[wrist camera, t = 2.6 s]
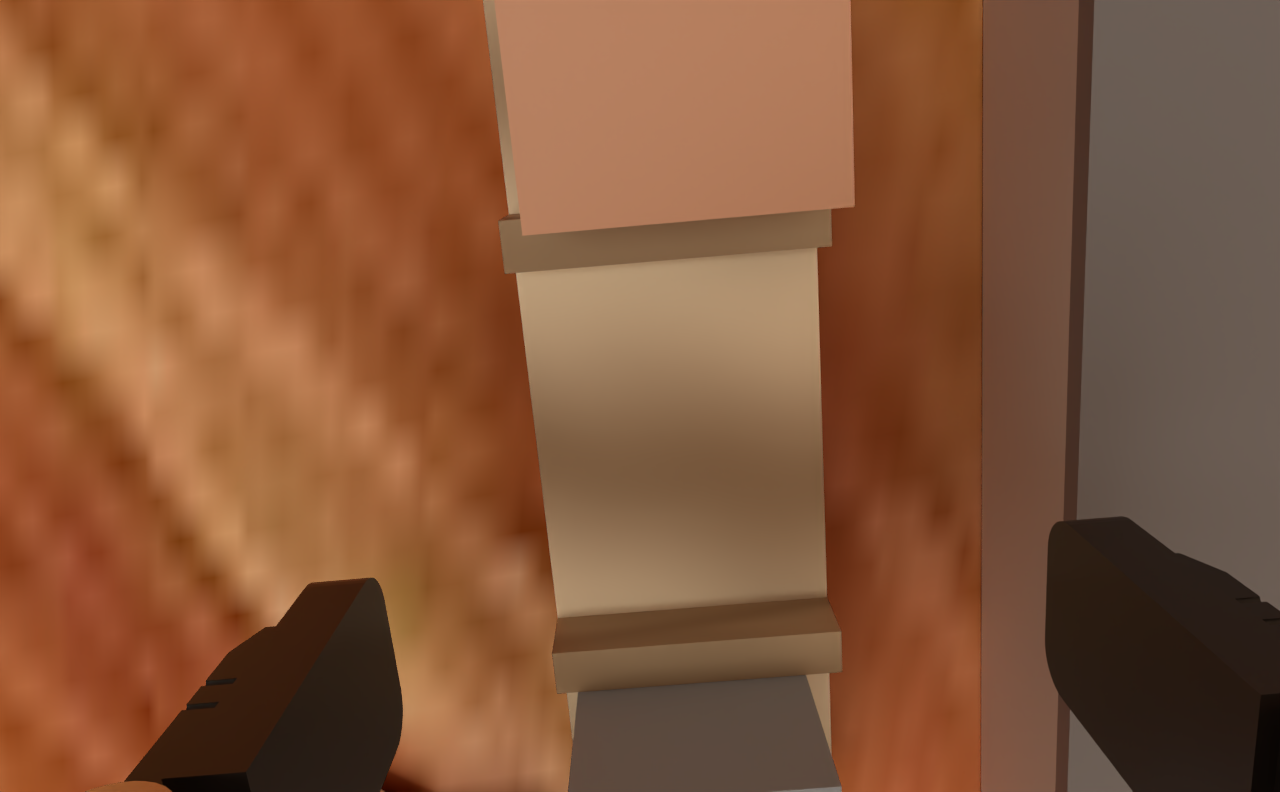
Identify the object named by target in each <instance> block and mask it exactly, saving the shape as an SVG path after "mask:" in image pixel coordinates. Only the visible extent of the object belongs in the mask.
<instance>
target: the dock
mask: <svg viewBox="0 0 1280 792" xmlns="http://www.w3.org/2000/svg"><path fill="white" fill-rule="evenodd" d="M1117 516H1124V517H1127V518H1129V519H1131V520H1132V521H1133V522H1135V523H1136V524H1137V525H1139V526H1140V527H1141V528H1143V529H1144V530H1145V531H1147V532H1148V533H1149V534H1150V535H1152V536H1153V537H1154V538H1156V539H1157V540H1158V541H1160V542H1161V543H1162V544H1164V545H1165V546H1166V547H1168V548H1169V549H1170V550H1171V551H1173V552H1174V553H1181V554H1183V555H1186V556H1188V557H1191V558H1193V559H1195V560H1198V561H1200V562H1203V563H1205V564H1208V565H1210V566H1213V567H1215V568H1218V569H1220V570H1222V571H1225V572H1227V573H1228V574H1230V575H1231V576H1232V577H1234V578H1235V579H1237V580H1238V581H1239V582H1241V583H1242V584H1243V585H1245V586H1246V587H1248V588H1249V589H1250V590H1252V591H1253V592H1254V593H1256V594H1257V595H1259V596H1260V600H1261V602H1268V603H1270V604H1271V605H1272V606H1274V607H1275V608H1276V609H1278V610H1279V611H1280V0H983V250H982V621H981V792H1133V791H1132V790H1131V788H1130V787H1129V786H1128V784H1127V783H1126V782H1125V780H1124V779H1123V778H1122V777H1121V775H1120V774H1119V773H1118V771H1117V770H1116V769H1115V767H1114V766H1113V765H1112V763H1111V762H1110V761H1109V760H1108V758H1107V757H1106V756H1105V754H1104V753H1103V752H1102V750H1101V749H1100V748H1099V746H1098V745H1097V744H1096V743H1095V741H1094V740H1093V739H1092V737H1091V736H1090V735H1089V733H1088V732H1087V731H1086V729H1085V728H1084V727H1083V725H1082V724H1081V723H1080V722H1079V720H1078V719H1077V718H1076V716H1075V715H1074V714H1073V712H1072V711H1071V710H1070V708H1069V707H1068V706H1067V705H1066V703H1065V702H1064V701H1063V699H1062V698H1061V696H1060V695H1059V693H1058V691H1057V690H1056V688H1055V685H1054V683H1053V680H1052V678H1051V675H1050V671H1049V668H1048V663H1047V658H1046V652H1045V618H1046V586H1047V554H1048V539H1049V534H1050V531H1051V528H1052V527H1053V525H1054V524H1055V523H1056V522H1058V521H1069V520H1081V519H1093V518H1105V517H1117Z"/></svg>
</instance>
